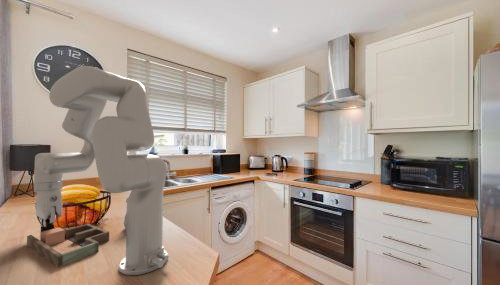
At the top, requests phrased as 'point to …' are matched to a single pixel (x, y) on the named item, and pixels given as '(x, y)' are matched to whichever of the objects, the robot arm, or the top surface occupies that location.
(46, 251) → the channel
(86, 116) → the robot arm
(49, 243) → the block
